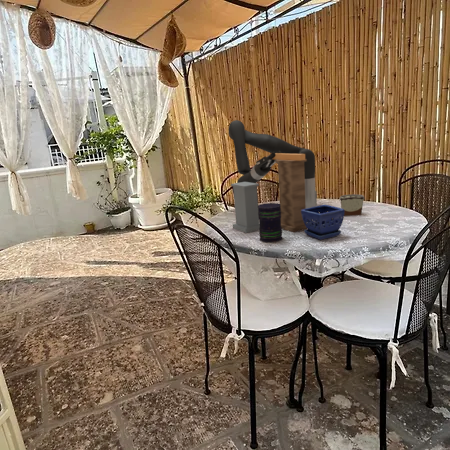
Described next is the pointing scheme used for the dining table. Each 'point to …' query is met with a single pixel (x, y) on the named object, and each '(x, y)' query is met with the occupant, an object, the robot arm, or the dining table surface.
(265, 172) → the robot arm
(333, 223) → the flower pot
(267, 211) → the storage jar
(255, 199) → the grey tall block
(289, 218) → the tall stand
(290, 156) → the orange rectangular block
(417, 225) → the dining table surface
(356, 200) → the food container
